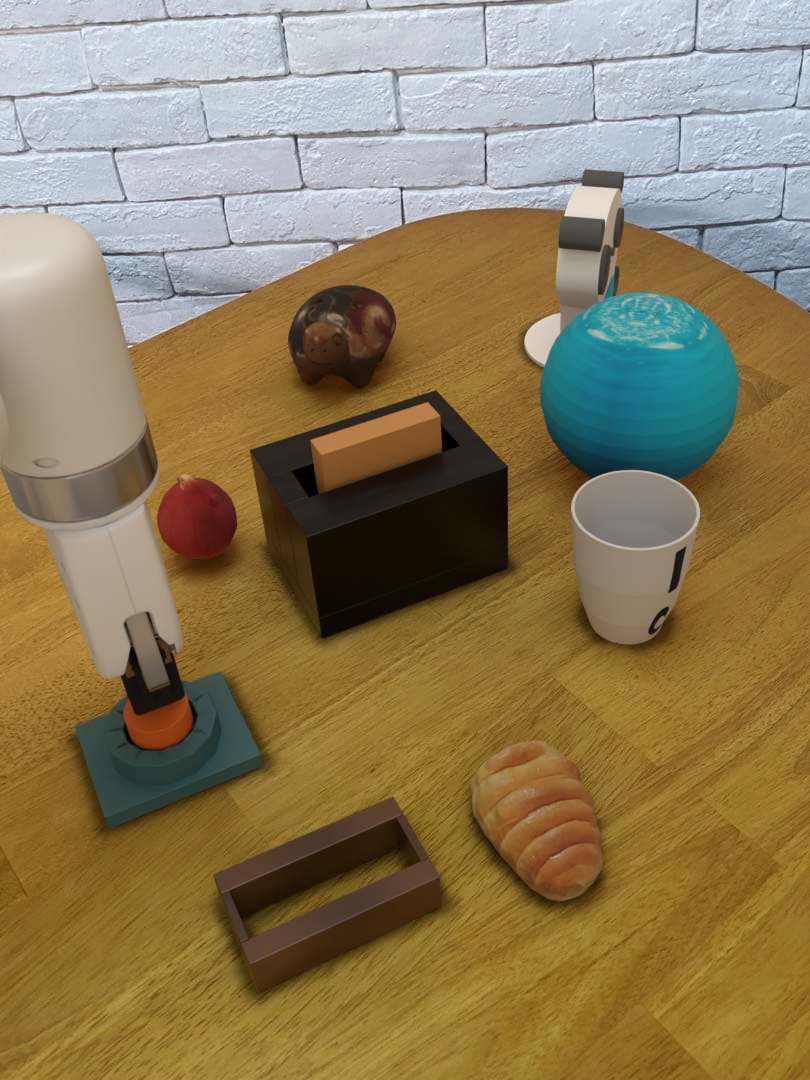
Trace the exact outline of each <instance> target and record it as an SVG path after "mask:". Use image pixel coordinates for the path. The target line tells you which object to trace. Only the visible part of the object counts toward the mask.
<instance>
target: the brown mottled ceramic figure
mask: <svg viewBox="0 0 810 1080" xmlns="http://www.w3.org/2000/svg"><path fill="white" fill-rule="evenodd" d="M396 317H397V316H396V312H395V310H394V307H393V305H392V303H391V302H390V301H389V300H388V298H387V297H386V296H385V295H383V294H382V293H380V292H378V291H376V290H374V289H371V288H369V287H365V286H362V285H357V284H342V285H341V284H340V285H336V286H331V287H327V288H325V289H322V290H320V291H317V292H316V293H315V294H313V295H311V296H310V297H309V298H308V299H306V301H305V302H304V303H303V304H302V305H301V306H300V307H299V309H298V310H297V312H296V313H295V315H294V317H293V319H292V322H291V324H290V327H289V332H288V336H287V346H288V350H289V354H290V356H291V359H292V363H293V364H294V365H295V368H296V371H297V373H298V375H299V377H300V379H301V380H302V381H303V382H304V383H305V385H308V386H313V385H317V384H318V383H319V382H320V381H321V380H322V379H324V378H325V377H326V376H338V377H340V378H341V379H343V380H345V381H347V382H348V383H349V384H350V385H351V386H353V387H355V388H356V389H364V388H365V387H368V385H369V384H370V382H371V381H372V378H373V376H374V374H375V372H376V370H377V367H378V365H379V364H380V363H381V362H382V361H383V360H384V358H385V356H386V354H387V350H388V348H389V346H390V345H391V343H392V340H393V338H394V335H395V332H396V328H397V318H396Z"/></svg>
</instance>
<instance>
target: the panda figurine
mask: <svg viewBox="0 0 810 1080" xmlns="http://www.w3.org/2000/svg"><path fill="white" fill-rule="evenodd" d="M624 184H625V172H624V171H615V170H614V171H613V170H601V169H587V168H584V170H583V172H582V177H581V185H576V186H575V188H574V189H573V190H572V192H571V195H570V197H569V199H568V202H567V206H566V207H565V211H564V215H562V216H561V219H560V224H559V229H558V240H557V241H558V243H557V244H558V252H557V260H556V271H555V295H556V300H557V303H558V305H559V306H560V312H557V313H554V314H551V315H548V316H546V317H543V318H541V319H540V320H538V321H536V322H535V323H534V324H532V325H531V326H530V327H529V328H528V330H527V332H526V334H525V336H524V350H525V352H526V355H527V356H528V358H530V360H531V361H533V362H534V363H535V364H537V365H538V366H540V367H541V368H543V369H544V367H545V364H546V361H547V358H548V355H549V352H550V349H551V347H552V346H553V344H554V342H555V340H556V338H557V337H558V336H559V334H560V333H561V332H562V331H563V329H564V328H565V327H566V326H567V325H568V324H569V323H570V322H571V321H572V320H573V319H574V318H575V317H577V316H578V315H579V314H580V313H581V312H583V311H584V310H585V309H587V308H589V307H591V306H593V305H594V304H596V303H598V302H601V301H603V300H605V299H607V298H610V297H614V296H617V293H618V287H619V282H620V265H616V264H617V259H618V253H619V252H618V251H619V248H620V246H621V243H622V239H623V232H624V225H625V208H624V207H622V194H623V191H624Z"/></svg>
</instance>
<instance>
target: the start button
mask: <svg viewBox="0 0 810 1080" xmlns="http://www.w3.org/2000/svg"><path fill="white" fill-rule="evenodd" d="M123 715H124V720H125V723H126V726H127V729H128V731H129V734H130V737H131V739H132V741H133V742H134V743H135V744H136V745H138V746H139V747H141V748H143V749H147V750H163V749H167V748H169V747H172V746H174V745H176V744H178V743H179V742H181V741H182V740H183V739H184V738H185V737H186V736H187V735H188V734H189V732H190V730H191V728H192V725H193V715H192V712H191V708H190V705H189V701H188V698H187V695H186V693H185V696H184V698H183V699H181V700H179V701H177V702H174V703H172V704H169V705H166V706H164V707H161V708H159V709H156V710H154V711H151V712H148V713H146V714H143V715H140V716H138V715H135V713H134V711H133V708H132V706H131V703H130V701H129V699H128V701H127V702H126V704H125V707H124V712H123Z"/></svg>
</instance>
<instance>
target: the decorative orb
mask: <svg viewBox="0 0 810 1080" xmlns="http://www.w3.org/2000/svg"><path fill="white" fill-rule="evenodd" d="M739 378H740V377H739V371H738V366H737V363H736V360H735V357H734V354H733V352H732V349H731V347H730V346H729V344H728V342H727V339H726V338H725V336H724V334H723V333H722V331H721V329H720V328H719V327H718V326H717V324H715V322H713V321H712V320H711V319H710V318H709V317H708V316H706V315H705V314H704V313H703V312H702V311H701V310H699V309H698V308H697V307H695V306H693V305H692V304H690V303H688V302H686V301H683V300H681V299H679V298H677V297H674V296H670V295H667V294H662V293H658V292H646V291H640V292H639V291H638V292H628V293H622V294H619V295H616V296H614V297H610V298H607V299H605V300H603V301H601V302H598V303H596V304H594V305H593V306H591V307H589V308H587V309H585V310H584V311H583V312H581V313H580V314H579V315H578V316H577V317H575V318H574V319H573V320H572V321H571V322H570V323H569V324H568V325H567V326H566V327H565V328H564V329H563V331H562V332H561V333H560V334H559V336H558V337H557V338H556V340H555V342H554V344H553V346H552V347H551V349H550V352H549V355H548V358H547V361H546V364H545V367H544V368H543V370H542V374H541V376H540V382H539V383H540V384H539V399H540V407H541V410H542V411H541V412H542V415H543V420H544V423H545V427H546V431H547V433H548V436H549V437H550V439H551V442H552V443H553V444H554V445H555V447H556V448H557V449H558V451H560V453H561V454H562V455H563V456H564V458H565V459H566V460H567V461H568V463H569V464H570V465H571V466H573V468H575V469H576V470H577V471H580V472H581V473H583V474H584V475H586V476H587V477H589V478H590V479H593V478H595V477H597V476H599V475H602V474H605V473H609V472H614V471H622V470H640V471H648V472H653V473H657V474H661V475H664V476H667V477H669V478H671V479H673V480H675V481H677V482H679V481H680V480H682V479H683V478H685V477H687V476H688V475H690V474H692V473H693V472H695V471H697V470H698V469H700V468H702V466H704V465H705V464H706V463H707V462H708V461H709V460H711V458H712V456H713V455H714V454H715V452H716V451H717V449H718V448H719V447H720V446H721V444H722V443H723V442H724V440H725V439H726V437H727V436H728V434H729V432H730V431H731V428H732V427H733V424H734V421H735V417H736V413H737V407H738V398H739V388H740V387H739V385H740V379H739Z"/></svg>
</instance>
